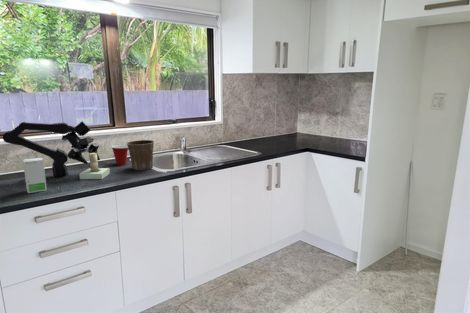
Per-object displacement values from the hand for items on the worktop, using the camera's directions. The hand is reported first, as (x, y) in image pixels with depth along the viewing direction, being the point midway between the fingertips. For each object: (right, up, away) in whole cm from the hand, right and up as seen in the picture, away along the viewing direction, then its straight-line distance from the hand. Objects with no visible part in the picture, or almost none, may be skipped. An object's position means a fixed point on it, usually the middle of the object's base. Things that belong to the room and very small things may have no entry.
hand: (93, 161), depth 182 cm
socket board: (0, -8, +2) cm, 8 cm away
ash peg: (0, -8, +2) cm, 8 cm away
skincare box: (-18, -14, -22) cm, 32 cm away
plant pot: (+22, -4, +19) cm, 29 cm away
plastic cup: (+6, -2, +29) cm, 30 cm away
